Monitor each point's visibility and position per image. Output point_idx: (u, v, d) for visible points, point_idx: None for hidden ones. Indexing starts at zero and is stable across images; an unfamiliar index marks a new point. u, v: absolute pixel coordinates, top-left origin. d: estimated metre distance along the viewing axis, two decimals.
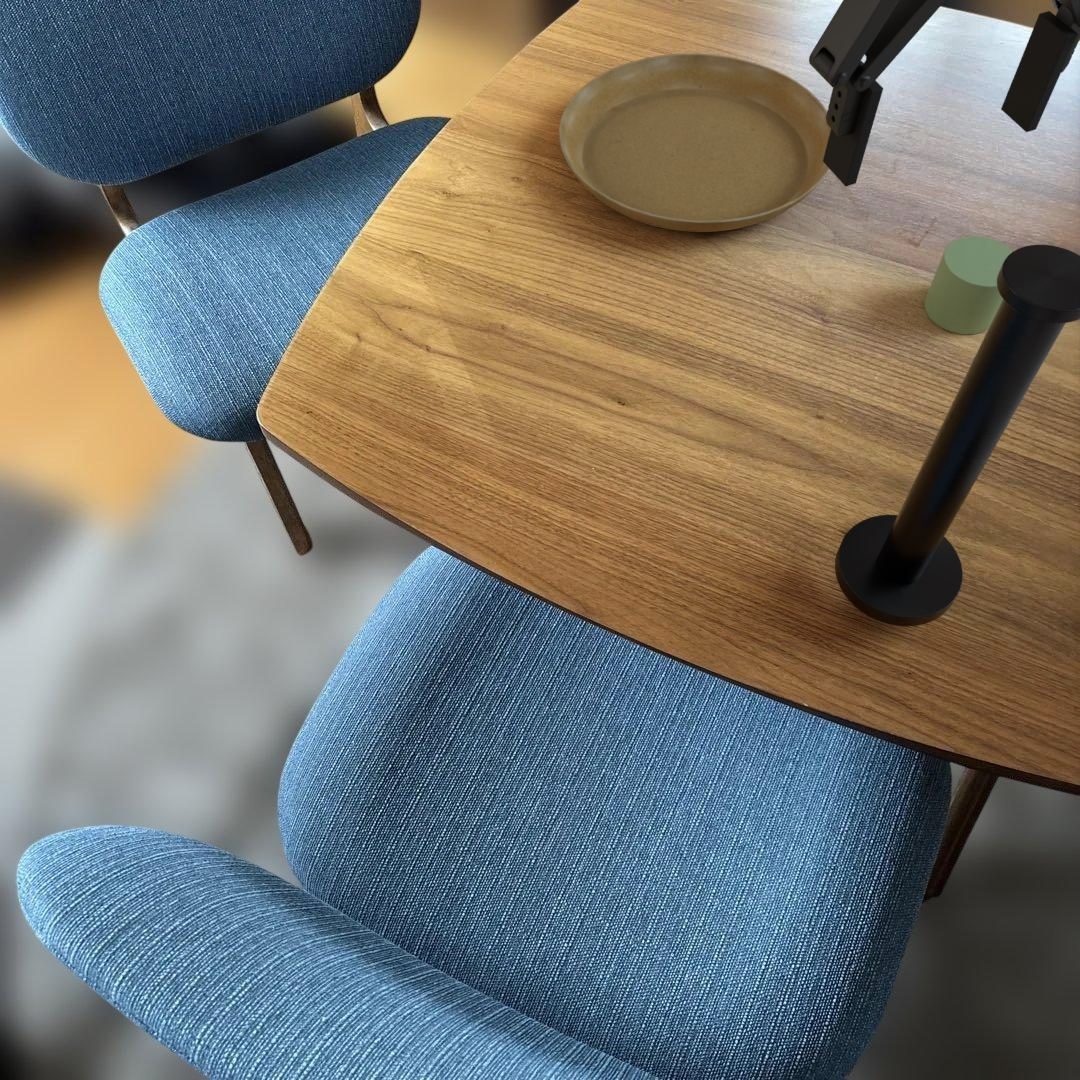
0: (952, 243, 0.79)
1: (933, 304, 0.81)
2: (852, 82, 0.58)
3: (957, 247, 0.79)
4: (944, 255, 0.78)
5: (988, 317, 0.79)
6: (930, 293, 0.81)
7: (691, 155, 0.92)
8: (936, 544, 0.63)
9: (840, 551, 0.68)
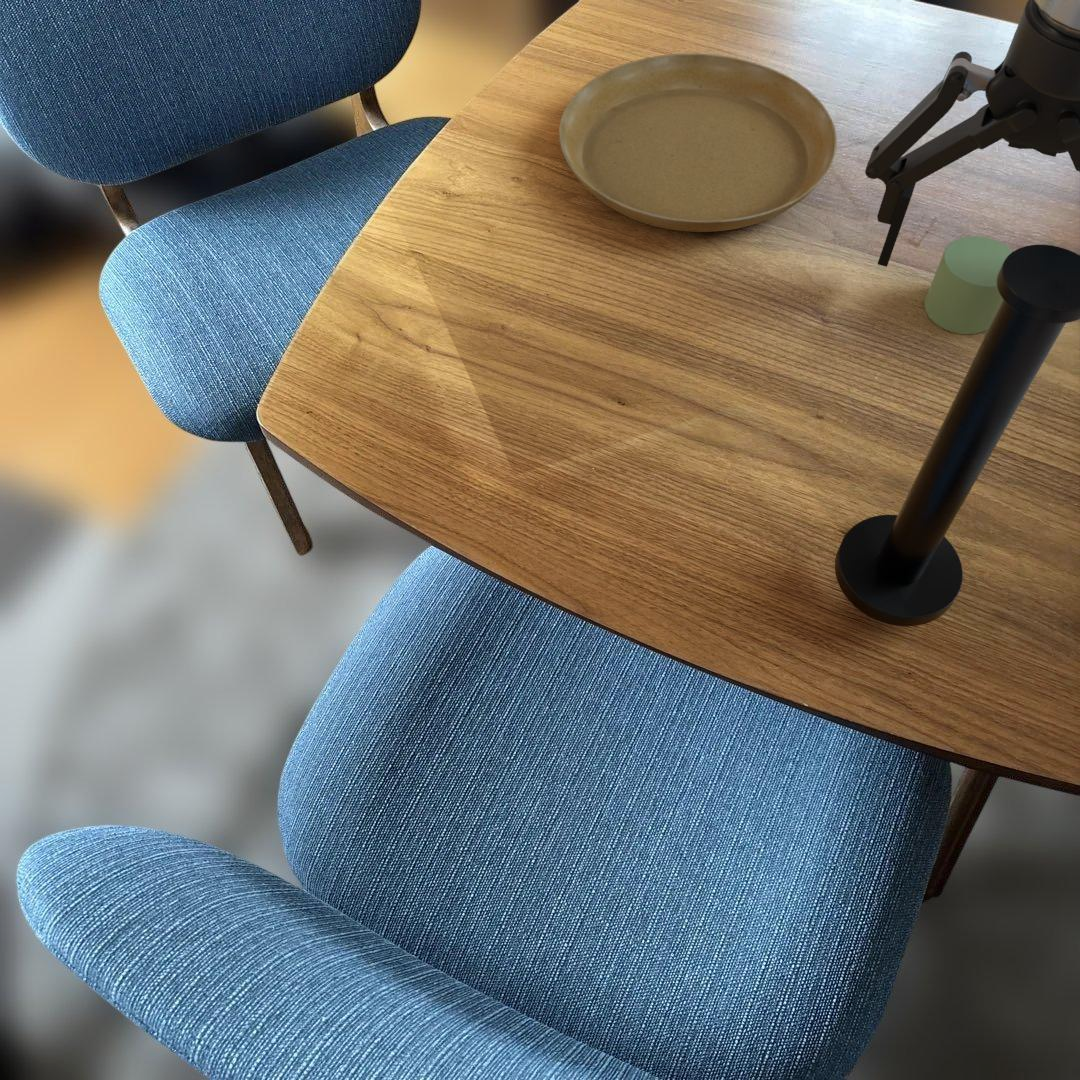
0: (952, 243, 0.79)
1: (933, 304, 0.81)
2: (888, 181, 0.75)
3: (957, 247, 0.79)
4: (944, 255, 0.78)
5: (988, 317, 0.79)
6: (930, 293, 0.81)
7: (691, 155, 0.92)
8: (936, 544, 0.63)
9: (840, 551, 0.68)
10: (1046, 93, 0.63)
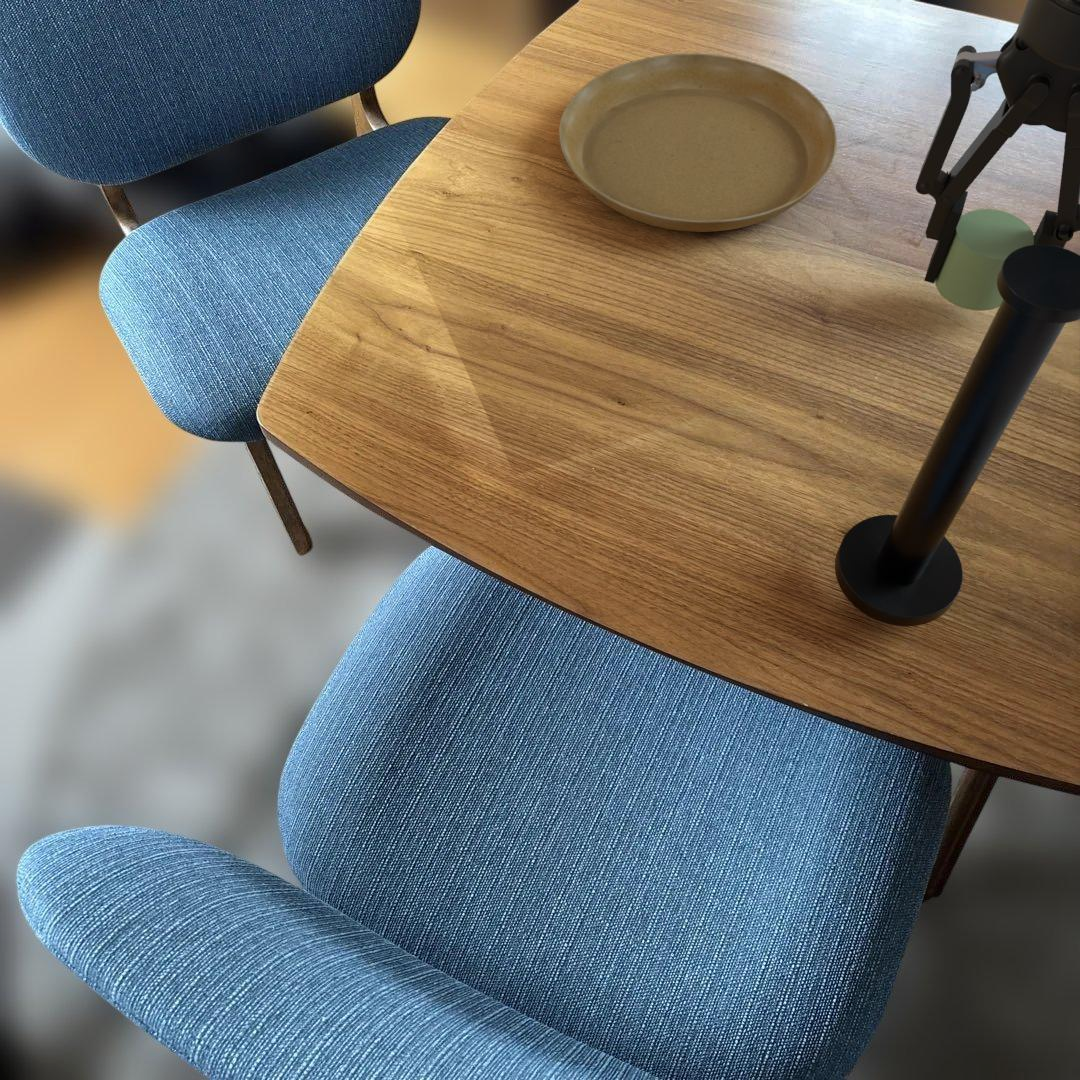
0: (964, 215, 0.77)
1: (944, 279, 0.78)
2: None
3: (969, 220, 0.76)
4: (956, 228, 0.76)
5: None
6: (942, 268, 0.78)
7: (691, 155, 0.92)
8: (936, 544, 0.63)
9: (840, 551, 0.68)
10: (1059, 64, 0.62)
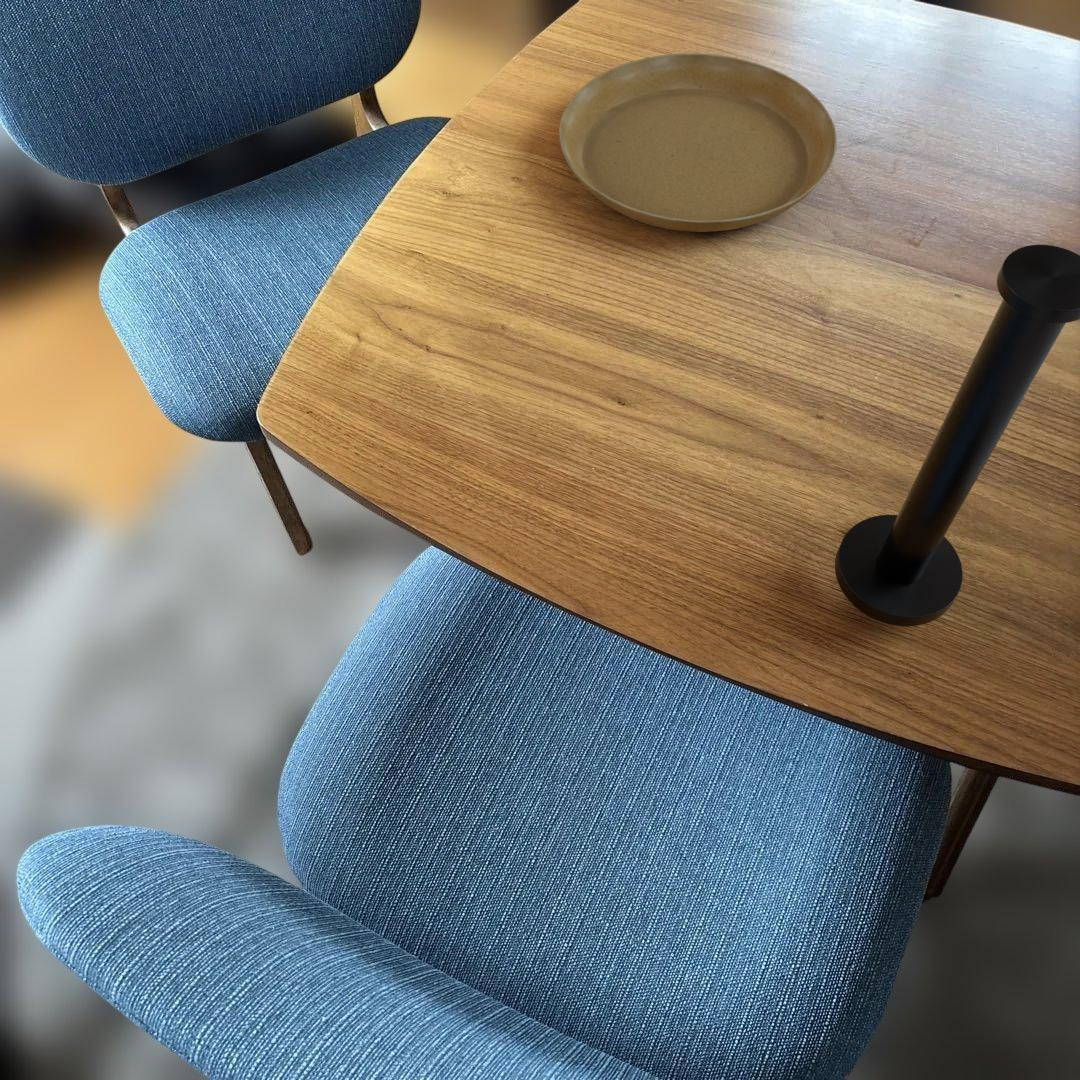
0: None
1: None
2: None
3: None
4: None
5: None
6: None
7: (691, 155, 0.92)
8: (936, 544, 0.63)
9: (840, 551, 0.68)
10: None
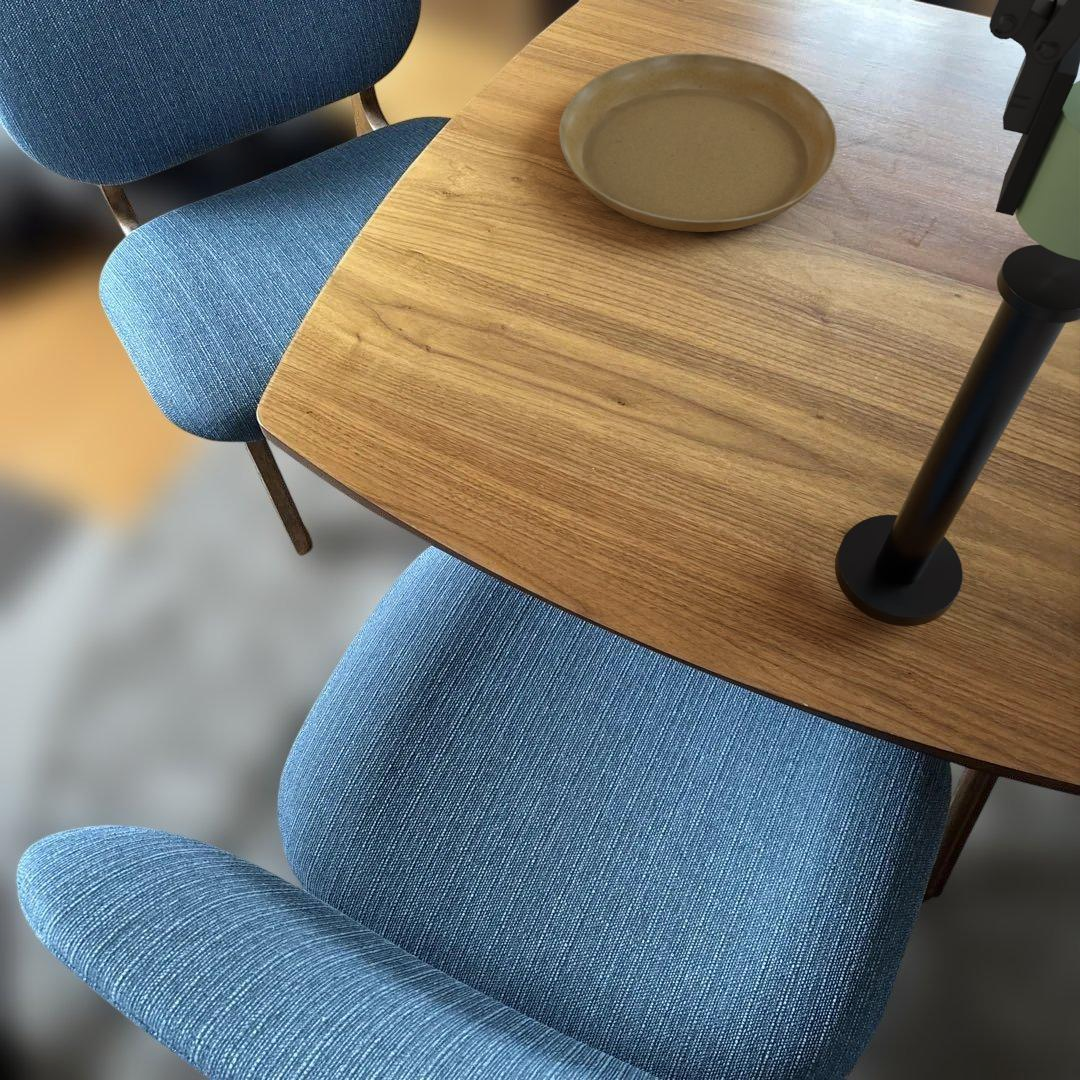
0: (1075, 85, 0.41)
1: (1035, 205, 0.43)
2: None
3: None
4: None
5: None
6: (1030, 185, 0.43)
7: (691, 155, 0.92)
8: (936, 544, 0.63)
9: (840, 551, 0.68)
10: None
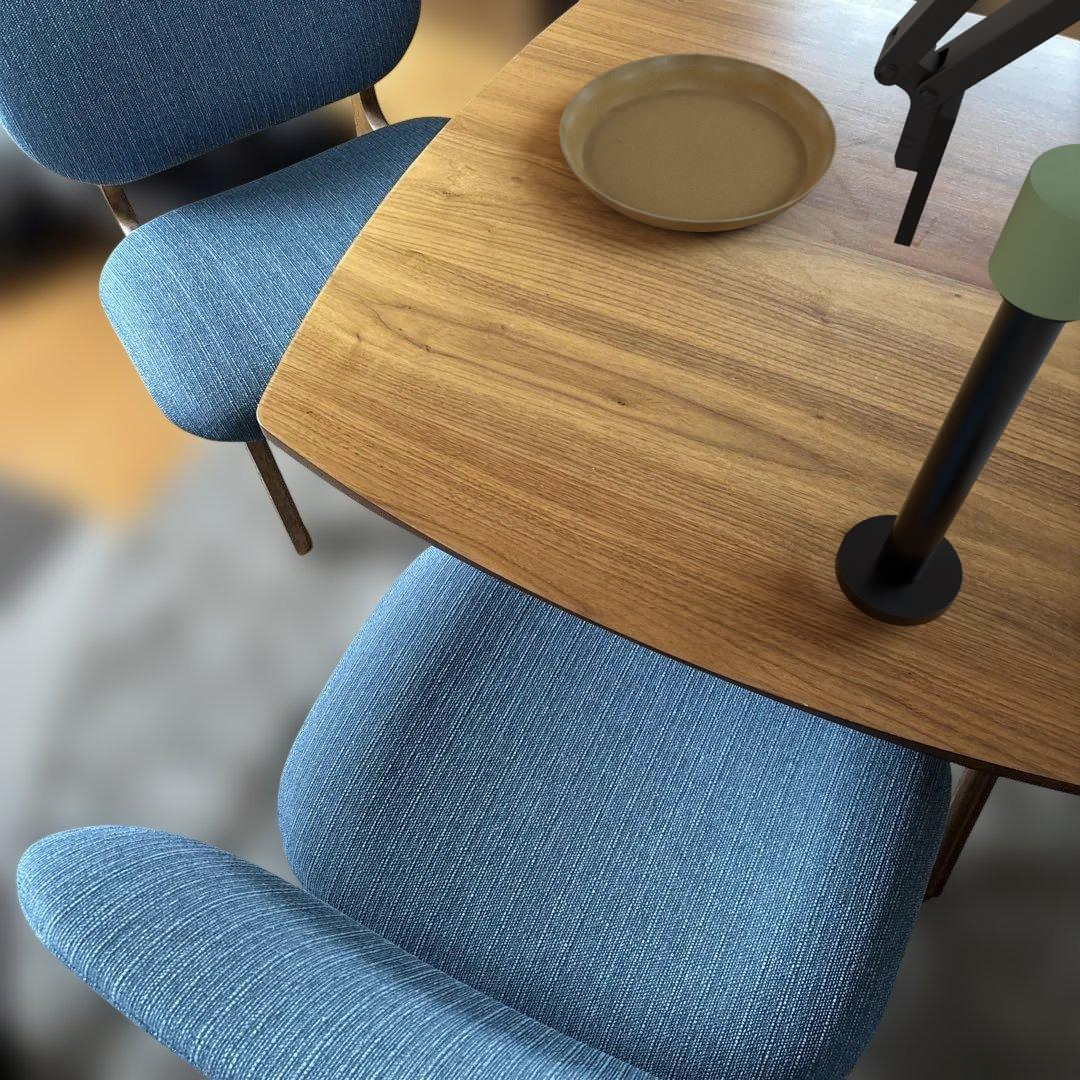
0: (1043, 155, 0.44)
1: (1006, 267, 0.46)
2: None
3: (1053, 163, 0.44)
4: (1030, 176, 0.43)
5: None
6: (1002, 247, 0.46)
7: (691, 155, 0.92)
8: (936, 544, 0.63)
9: (840, 551, 0.68)
10: None
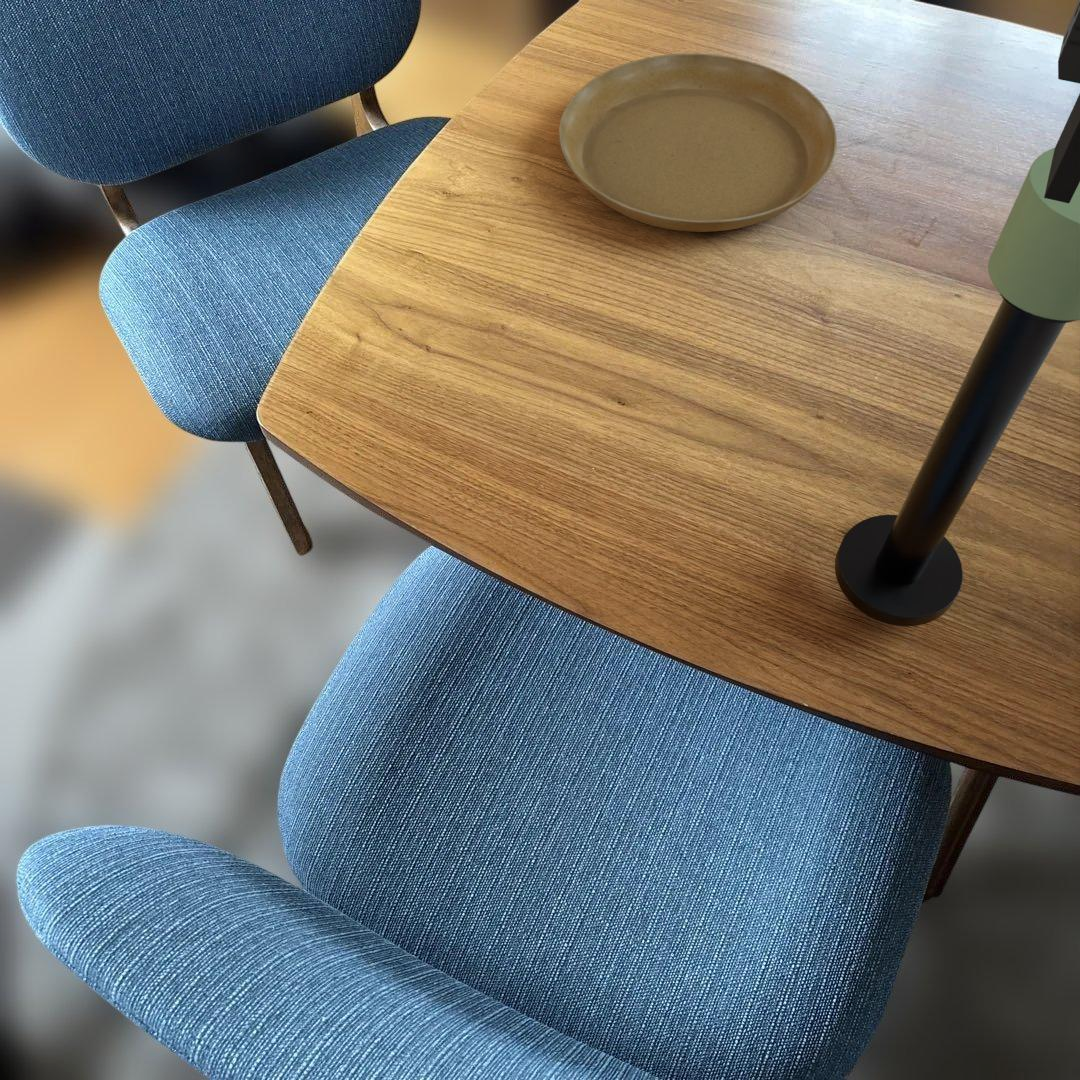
0: (1043, 155, 0.44)
1: (1006, 267, 0.46)
2: None
3: None
4: (1030, 176, 0.43)
5: None
6: (1002, 247, 0.46)
7: (691, 155, 0.92)
8: (936, 544, 0.63)
9: (840, 551, 0.68)
10: None
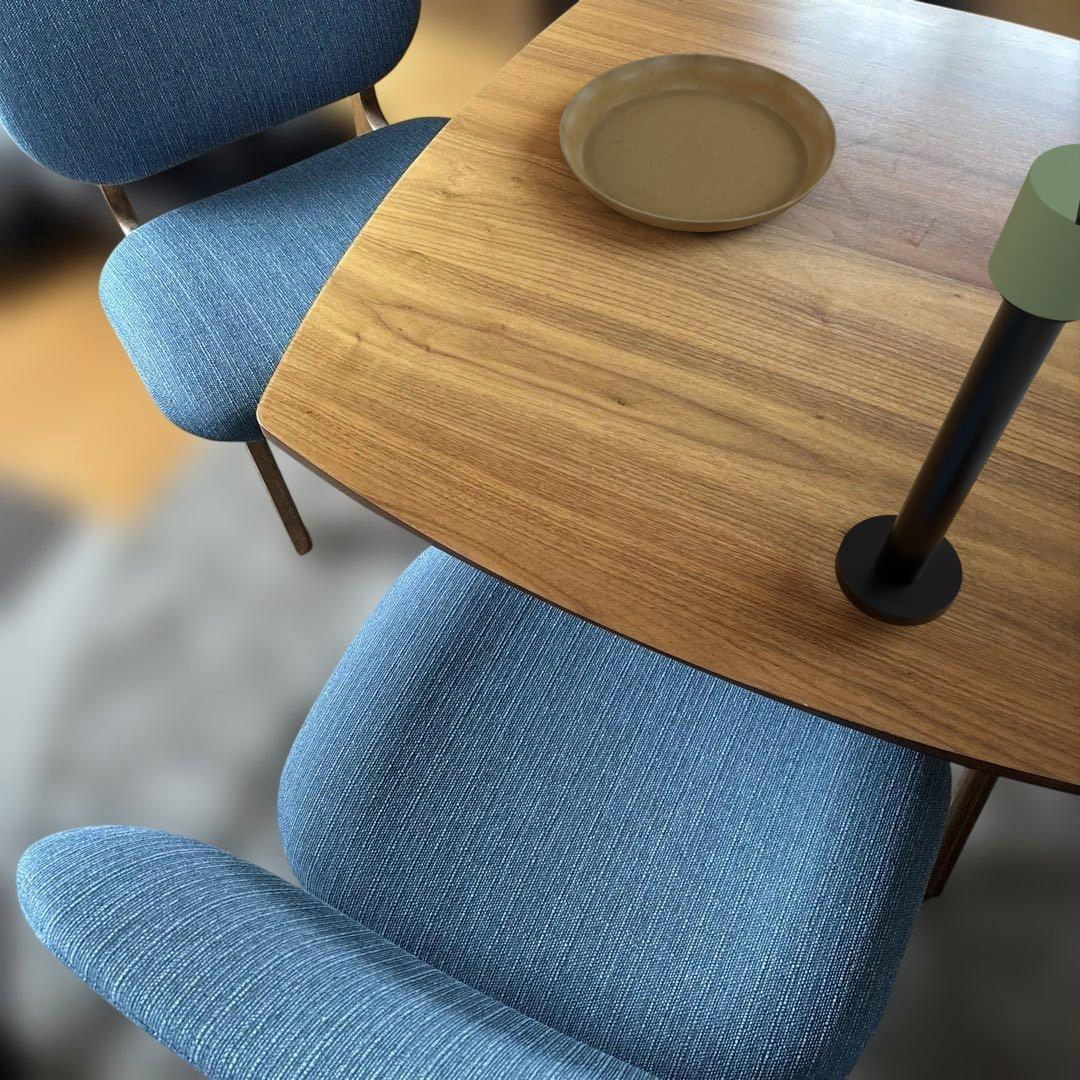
0: (1043, 155, 0.44)
1: (1006, 267, 0.46)
2: None
3: (1053, 163, 0.44)
4: (1030, 176, 0.43)
5: None
6: (1002, 247, 0.46)
7: (691, 155, 0.92)
8: (936, 544, 0.63)
9: (840, 551, 0.68)
10: None
